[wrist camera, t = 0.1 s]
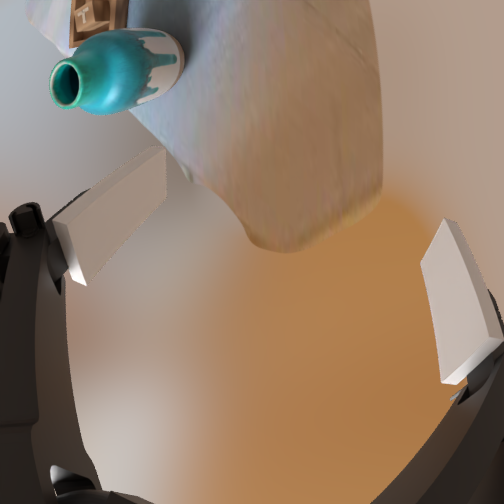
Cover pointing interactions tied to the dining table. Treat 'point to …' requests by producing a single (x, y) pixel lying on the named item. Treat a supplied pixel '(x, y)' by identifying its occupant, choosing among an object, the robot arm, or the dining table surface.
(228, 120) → the dining table surface
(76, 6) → the brown wooden tray
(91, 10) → the letter cube
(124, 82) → the vase
